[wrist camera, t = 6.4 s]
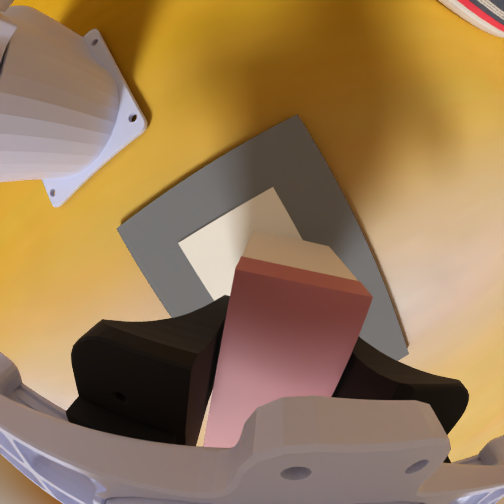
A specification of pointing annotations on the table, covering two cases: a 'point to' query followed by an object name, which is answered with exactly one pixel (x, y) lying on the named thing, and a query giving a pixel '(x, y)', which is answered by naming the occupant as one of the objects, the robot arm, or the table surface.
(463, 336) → the table surface
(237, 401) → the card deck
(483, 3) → the supplement tub
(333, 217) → the mat
